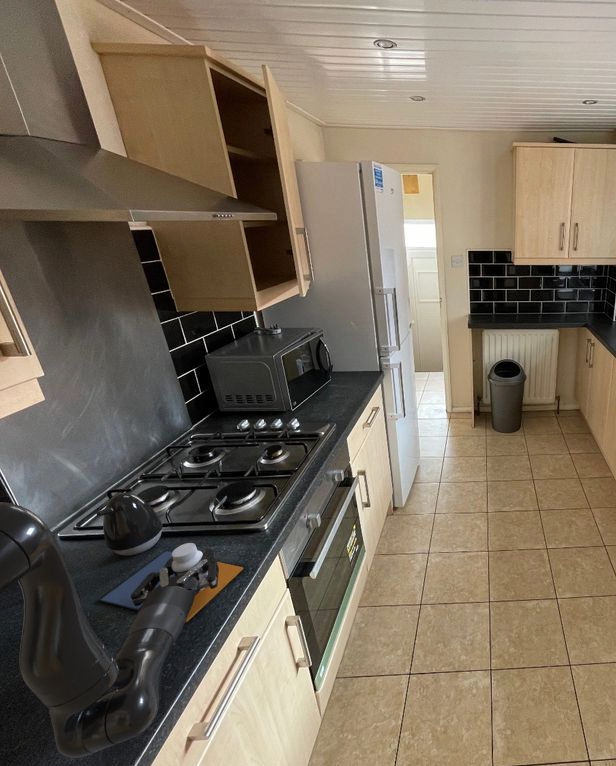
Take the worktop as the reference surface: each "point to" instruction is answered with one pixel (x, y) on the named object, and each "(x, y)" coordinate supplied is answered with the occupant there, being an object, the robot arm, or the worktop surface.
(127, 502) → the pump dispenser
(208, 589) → the amber mat
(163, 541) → the worktop surface
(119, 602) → the slate mat
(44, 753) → the worktop surface
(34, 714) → the worktop surface
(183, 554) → the pill bottle
